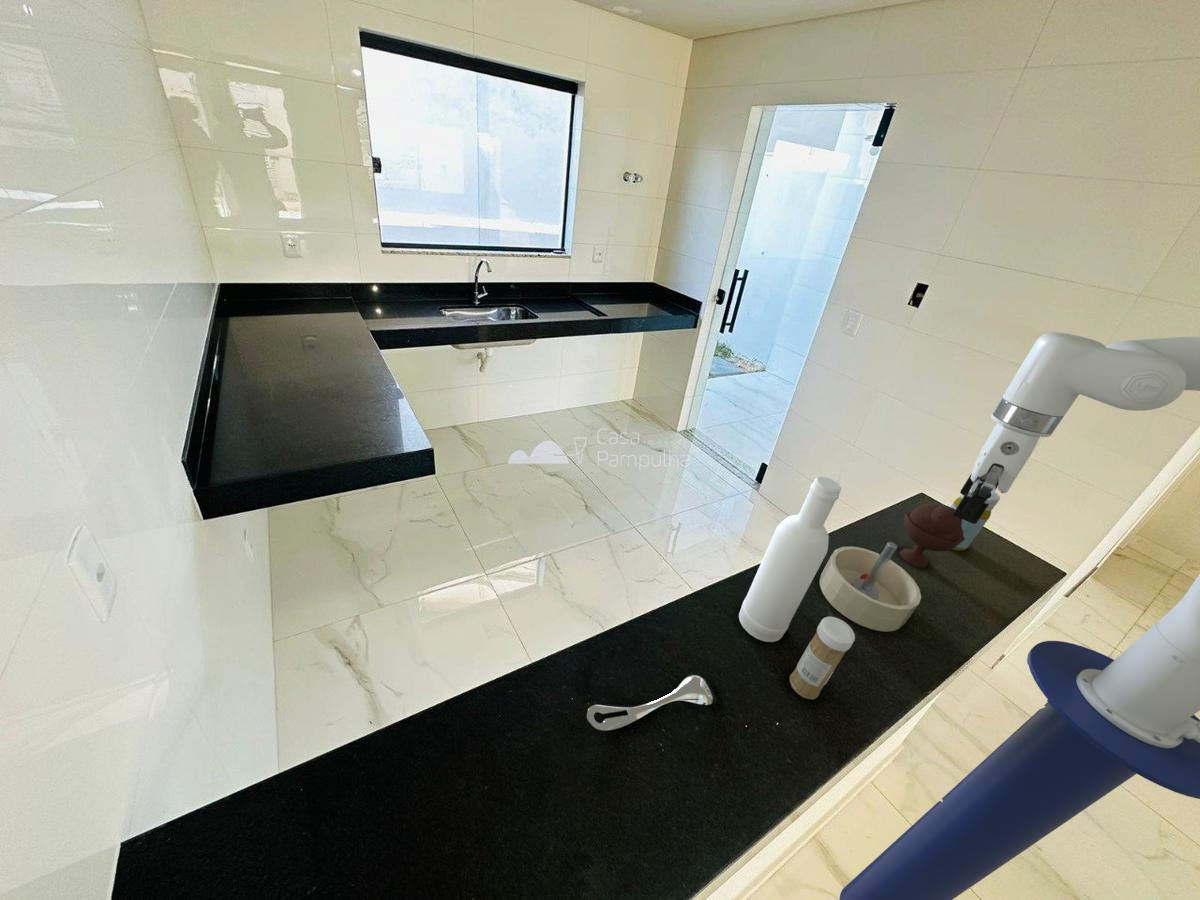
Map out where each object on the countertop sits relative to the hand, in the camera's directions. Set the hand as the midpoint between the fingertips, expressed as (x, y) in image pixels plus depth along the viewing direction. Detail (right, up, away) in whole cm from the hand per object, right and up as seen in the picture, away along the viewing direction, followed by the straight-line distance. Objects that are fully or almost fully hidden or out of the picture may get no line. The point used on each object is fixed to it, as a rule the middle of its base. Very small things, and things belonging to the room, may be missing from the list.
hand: (967, 507), depth 78 cm
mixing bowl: (-11, -19, +11) cm, 25 cm away
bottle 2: (+21, -12, +32) cm, 41 cm away
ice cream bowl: (+8, -15, +25) cm, 30 cm away
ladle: (-11, -18, +11) cm, 24 cm away
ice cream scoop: (-55, -27, -14) cm, 63 cm away
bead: (-9, -16, +13) cm, 23 cm away
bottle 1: (-34, -21, +2) cm, 40 cm away
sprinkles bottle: (-31, -27, -7) cm, 42 cm away
